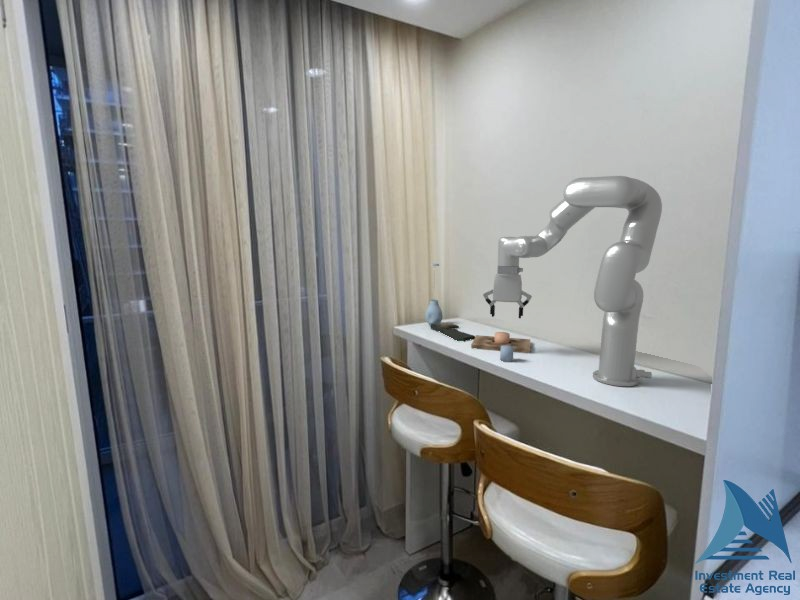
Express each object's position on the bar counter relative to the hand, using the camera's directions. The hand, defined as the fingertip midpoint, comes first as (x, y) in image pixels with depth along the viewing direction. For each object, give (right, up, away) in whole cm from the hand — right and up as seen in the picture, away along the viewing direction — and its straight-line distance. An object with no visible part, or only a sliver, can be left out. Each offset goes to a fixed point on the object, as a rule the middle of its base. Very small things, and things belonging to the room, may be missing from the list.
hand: (506, 317), depth 154 cm
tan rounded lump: (+1, -12, +13) cm, 18 cm away
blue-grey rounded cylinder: (-2, -15, -7) cm, 17 cm away
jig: (+1, -12, +13) cm, 18 cm away
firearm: (-15, -9, +33) cm, 38 cm away
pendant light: (-23, -6, +49) cm, 54 cm away
